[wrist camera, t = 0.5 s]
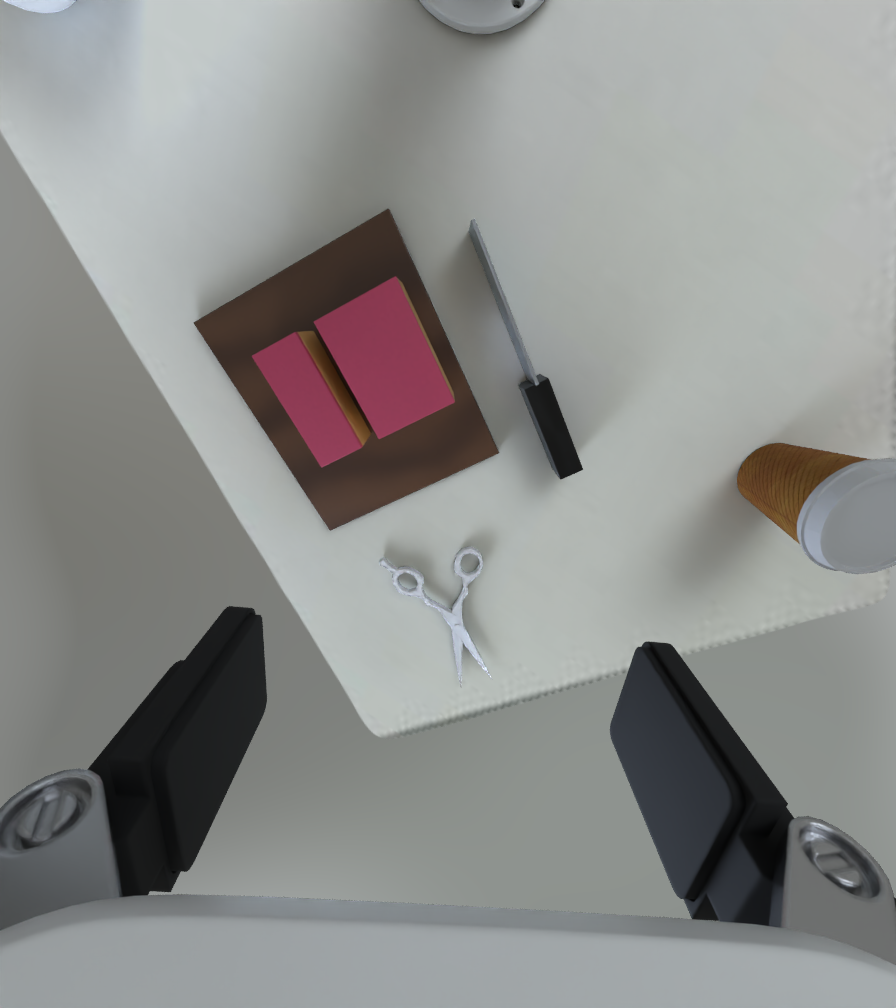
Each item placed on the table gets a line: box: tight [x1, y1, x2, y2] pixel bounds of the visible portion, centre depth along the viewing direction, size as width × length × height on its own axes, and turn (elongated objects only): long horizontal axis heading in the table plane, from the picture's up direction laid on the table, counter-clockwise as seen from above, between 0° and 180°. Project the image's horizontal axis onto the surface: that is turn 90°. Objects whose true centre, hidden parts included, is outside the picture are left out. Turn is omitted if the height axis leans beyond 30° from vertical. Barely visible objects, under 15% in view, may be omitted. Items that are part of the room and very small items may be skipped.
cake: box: [314, 276, 455, 439], centre depth 36 cm, size 10×7×5 cm
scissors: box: [379, 547, 492, 686], centre depth 49 cm, size 11×1×20 cm
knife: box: [468, 219, 583, 479], centre depth 37 cm, size 22×2×4 cm, turn 26°
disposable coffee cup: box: [737, 443, 896, 574], centre depth 38 cm, size 10×10×12 cm
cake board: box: [194, 209, 499, 530], centre depth 40 cm, size 22×19×1 cm
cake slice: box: [252, 331, 371, 467], centre depth 37 cm, size 10×4×5 cm, turn 26°
